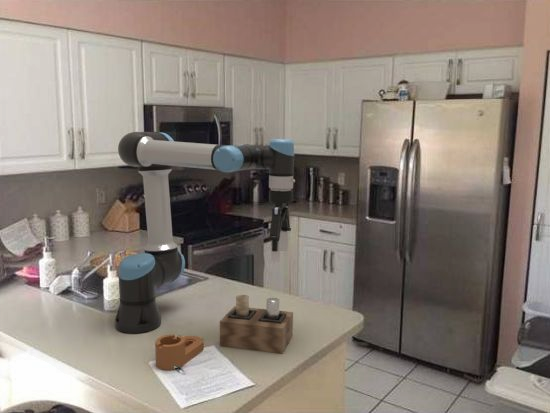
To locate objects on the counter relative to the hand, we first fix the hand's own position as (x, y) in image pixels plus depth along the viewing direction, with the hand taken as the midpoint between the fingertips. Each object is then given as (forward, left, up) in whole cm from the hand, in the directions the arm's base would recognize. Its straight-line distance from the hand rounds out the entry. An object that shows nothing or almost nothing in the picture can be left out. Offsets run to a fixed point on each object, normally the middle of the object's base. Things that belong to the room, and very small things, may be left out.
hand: (279, 255), depth 158 cm
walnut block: (-6, -5, -27) cm, 28 cm away
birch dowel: (-11, -5, -21) cm, 24 cm away
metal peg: (-1, -5, -21) cm, 22 cm away
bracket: (-24, -22, -27) cm, 43 cm away
